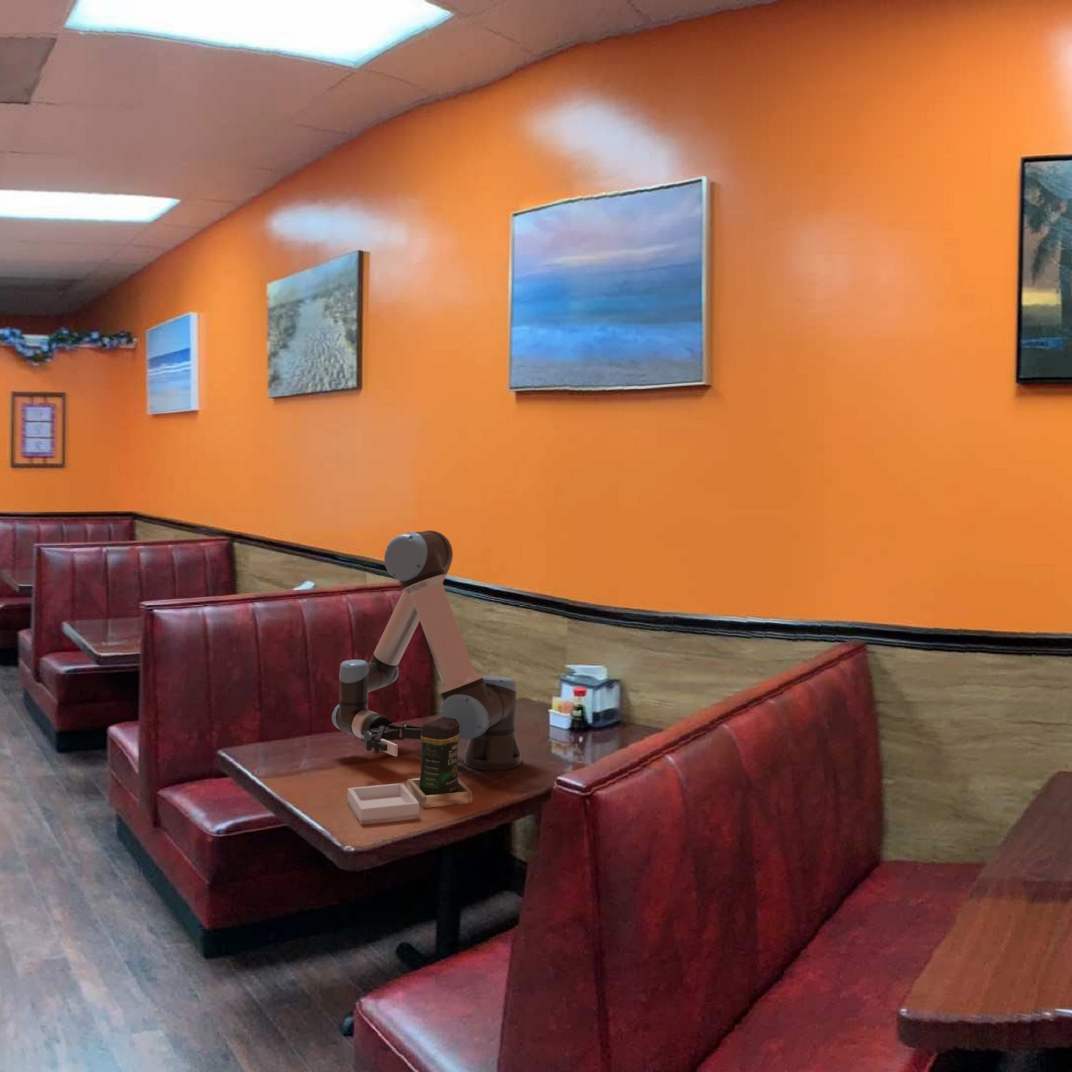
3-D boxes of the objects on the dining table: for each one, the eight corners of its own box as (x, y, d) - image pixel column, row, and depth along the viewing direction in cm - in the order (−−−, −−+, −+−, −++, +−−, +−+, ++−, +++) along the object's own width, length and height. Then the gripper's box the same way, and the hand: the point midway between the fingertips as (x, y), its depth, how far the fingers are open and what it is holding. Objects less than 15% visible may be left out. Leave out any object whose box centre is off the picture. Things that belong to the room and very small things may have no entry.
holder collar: (454, 784, 250) (454, 774, 250) (472, 802, 237) (472, 792, 237) (407, 789, 246) (407, 779, 246) (422, 808, 233) (422, 797, 233)
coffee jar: (442, 804, 235) (444, 726, 234) (414, 799, 239) (415, 721, 238) (463, 793, 244) (465, 717, 243) (435, 787, 248) (437, 712, 246)
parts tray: (402, 797, 240) (402, 783, 240) (418, 818, 226) (419, 803, 226) (347, 802, 235) (347, 788, 235) (360, 824, 221) (361, 809, 221)
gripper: (412, 734, 271) (460, 752, 255) (330, 749, 254) (375, 770, 238) (413, 706, 270) (461, 723, 254) (330, 720, 254) (376, 738, 238)
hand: (420, 745), depth 246 cm, fingers open, 13 cm apart
